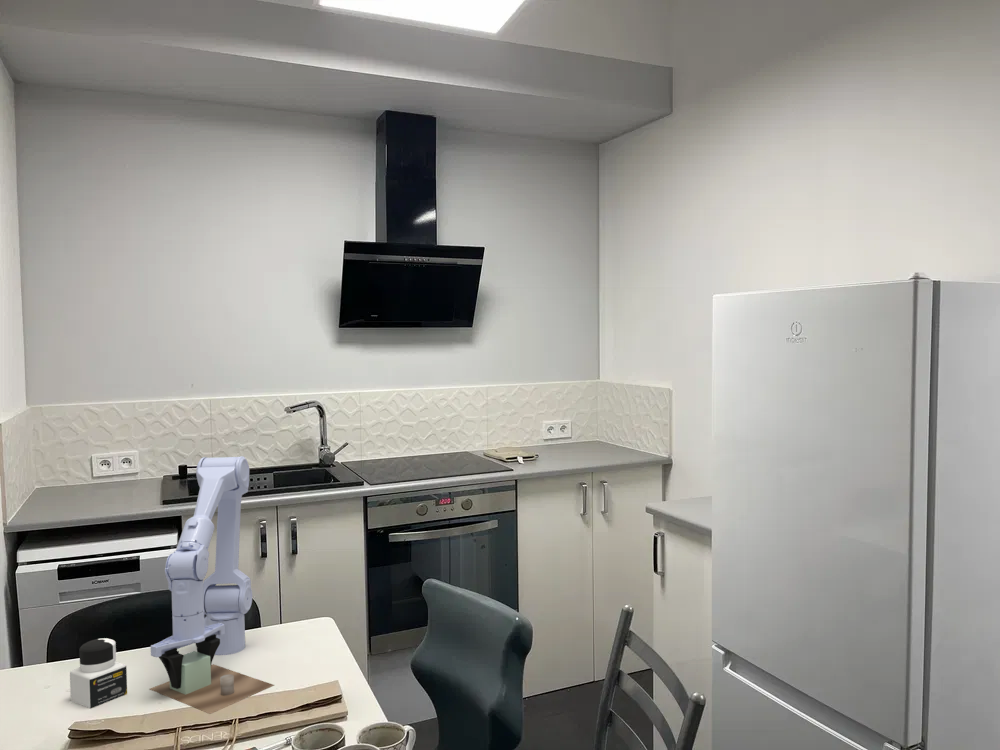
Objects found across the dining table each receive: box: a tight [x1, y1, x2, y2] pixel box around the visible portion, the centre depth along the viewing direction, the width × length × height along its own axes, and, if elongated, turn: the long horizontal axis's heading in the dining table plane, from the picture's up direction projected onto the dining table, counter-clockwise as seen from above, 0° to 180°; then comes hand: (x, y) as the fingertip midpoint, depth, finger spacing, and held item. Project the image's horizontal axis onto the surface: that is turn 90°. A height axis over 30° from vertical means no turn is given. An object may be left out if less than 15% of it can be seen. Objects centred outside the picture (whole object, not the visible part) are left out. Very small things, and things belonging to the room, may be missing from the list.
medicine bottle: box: [69, 637, 128, 709], centre depth 139 cm, size 7×7×12 cm
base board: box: [149, 663, 275, 715], centre depth 142 cm, size 20×14×4 cm
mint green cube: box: [169, 650, 212, 695], centre depth 143 cm, size 5×5×6 cm
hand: (190, 681), depth 143 cm, fingers closed on mint green cube, 5 cm apart
